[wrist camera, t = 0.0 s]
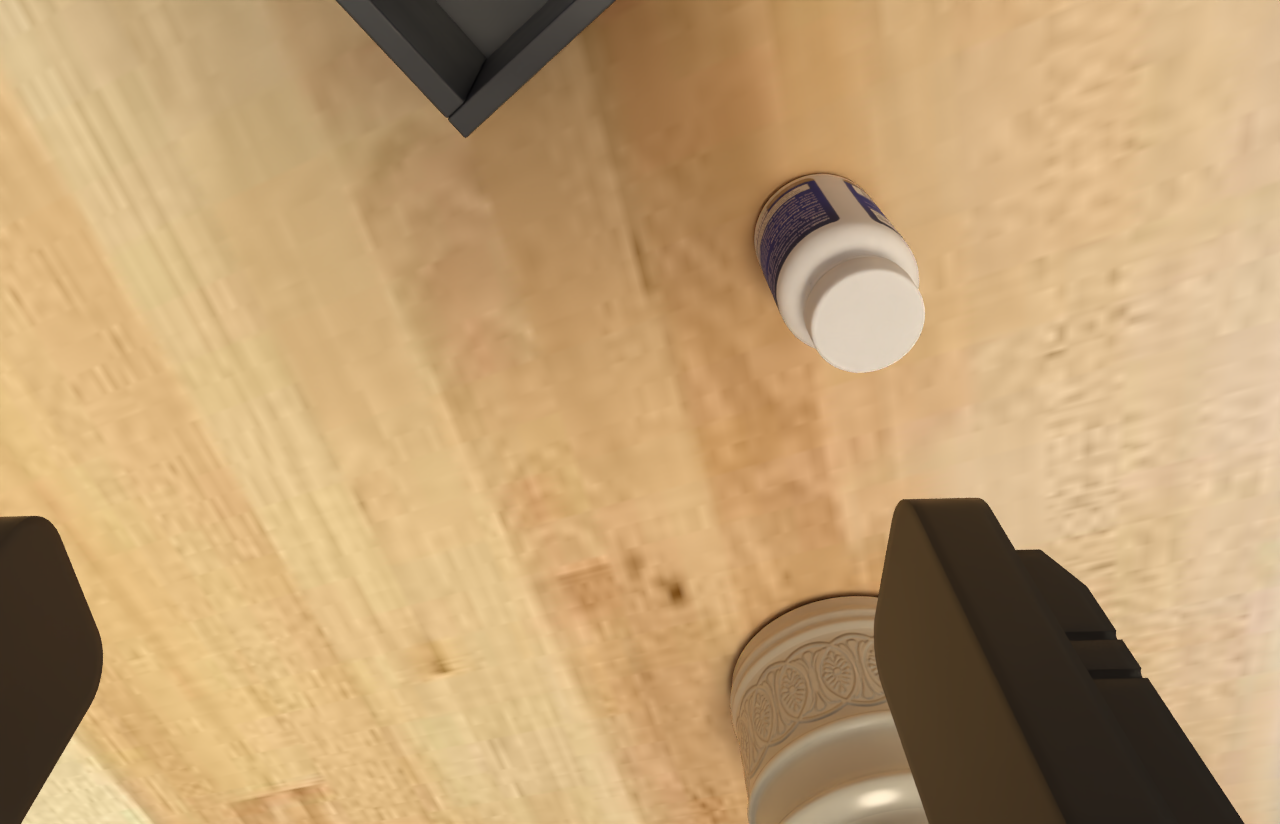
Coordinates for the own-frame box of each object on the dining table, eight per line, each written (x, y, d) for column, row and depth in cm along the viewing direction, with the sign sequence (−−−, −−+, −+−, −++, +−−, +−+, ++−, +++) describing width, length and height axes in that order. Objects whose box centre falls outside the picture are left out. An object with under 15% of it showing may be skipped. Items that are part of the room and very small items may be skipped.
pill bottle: (750, 291, 41) (785, 392, 33) (755, 172, 38) (795, 253, 31) (870, 287, 41) (932, 387, 34) (884, 169, 38) (955, 249, 31)
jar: (915, 755, 58) (1029, 1078, 42) (708, 743, 56) (750, 1072, 41) (982, 597, 51) (1145, 913, 36) (750, 580, 50) (818, 900, 35)
